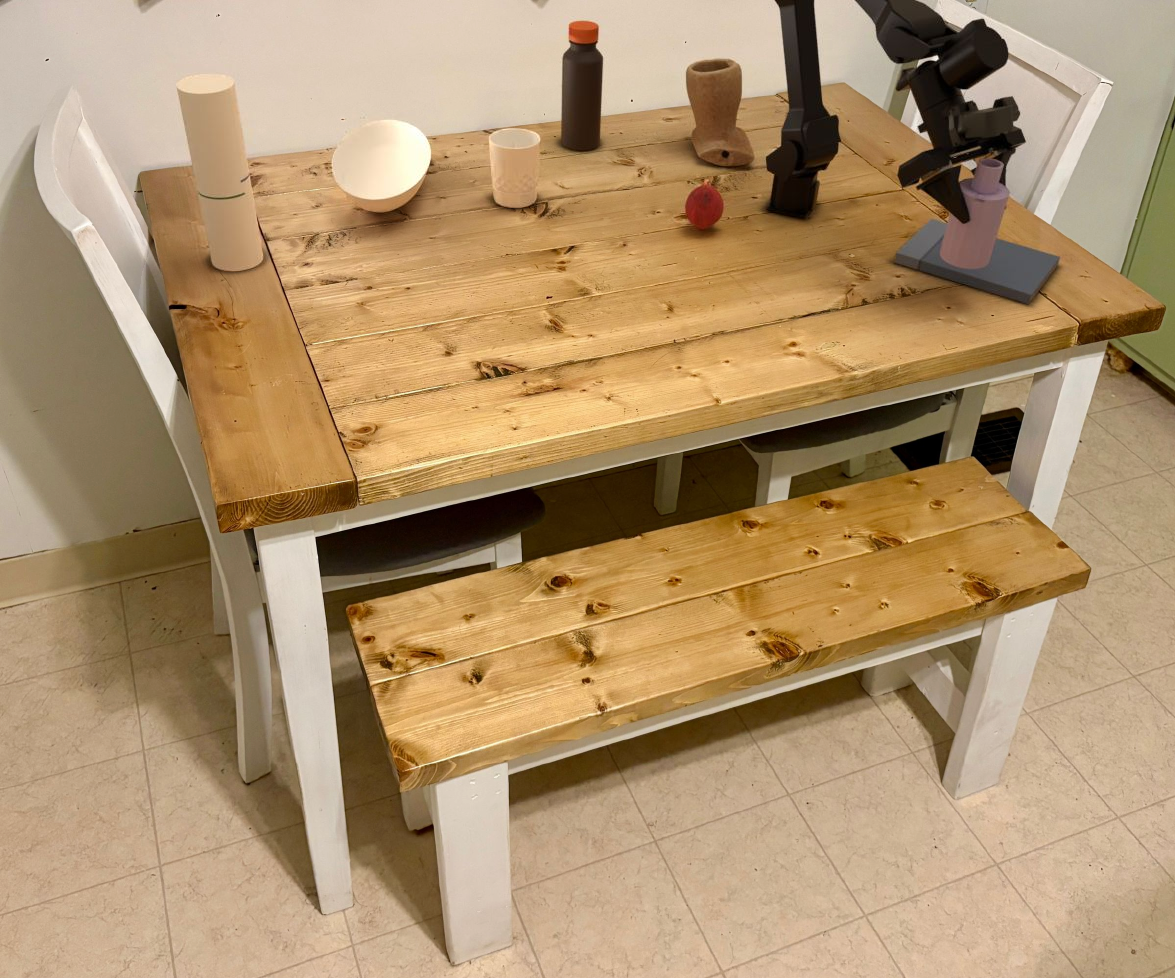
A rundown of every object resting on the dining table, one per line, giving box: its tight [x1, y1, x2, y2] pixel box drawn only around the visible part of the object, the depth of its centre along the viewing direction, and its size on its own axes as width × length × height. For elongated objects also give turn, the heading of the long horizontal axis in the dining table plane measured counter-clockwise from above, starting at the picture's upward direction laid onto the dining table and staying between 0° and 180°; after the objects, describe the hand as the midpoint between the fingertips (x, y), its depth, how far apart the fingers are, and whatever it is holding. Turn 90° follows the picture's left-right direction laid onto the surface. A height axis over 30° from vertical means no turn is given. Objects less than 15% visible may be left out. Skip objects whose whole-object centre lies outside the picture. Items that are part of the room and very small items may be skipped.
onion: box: [684, 178, 725, 231], centre depth 169 cm, size 6×6×8 cm
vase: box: [940, 158, 1011, 269], centre depth 149 cm, size 7×7×14 cm
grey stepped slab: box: [894, 218, 1061, 305], centre depth 166 cm, size 20×14×2 cm
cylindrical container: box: [175, 73, 264, 272], centre depth 152 cm, size 7×7×25 cm
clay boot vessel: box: [685, 58, 756, 167], centre depth 190 cm, size 15×12×15 cm
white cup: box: [488, 127, 541, 209], centre depth 175 cm, size 8×8×10 cm
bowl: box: [331, 119, 432, 213], centre depth 176 cm, size 30×15×6 cm, turn 4°
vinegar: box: [560, 20, 604, 152], centre depth 189 cm, size 7×7×20 cm
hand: (984, 216), depth 148 cm, fingers closed on vase, 7 cm apart
